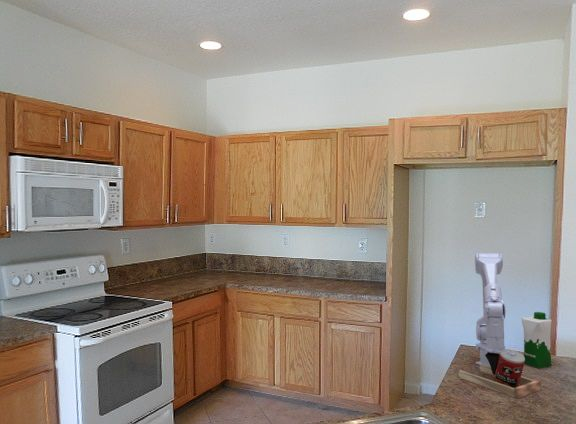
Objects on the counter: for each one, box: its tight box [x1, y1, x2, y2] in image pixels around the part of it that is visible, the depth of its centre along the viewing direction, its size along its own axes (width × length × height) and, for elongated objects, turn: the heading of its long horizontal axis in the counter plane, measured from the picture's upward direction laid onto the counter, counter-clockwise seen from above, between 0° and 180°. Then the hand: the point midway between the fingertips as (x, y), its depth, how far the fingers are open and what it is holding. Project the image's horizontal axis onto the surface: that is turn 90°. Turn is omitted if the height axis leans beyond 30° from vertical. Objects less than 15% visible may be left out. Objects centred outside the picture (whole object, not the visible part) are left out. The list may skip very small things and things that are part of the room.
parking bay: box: [458, 364, 542, 399], centre depth 160 cm, size 13×23×3 cm, turn 32°
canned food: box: [494, 348, 525, 388], centre depth 156 cm, size 8×8×11 cm
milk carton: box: [521, 311, 553, 370], centre depth 178 cm, size 9×9×20 cm
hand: (495, 374), depth 161 cm, fingers closed
